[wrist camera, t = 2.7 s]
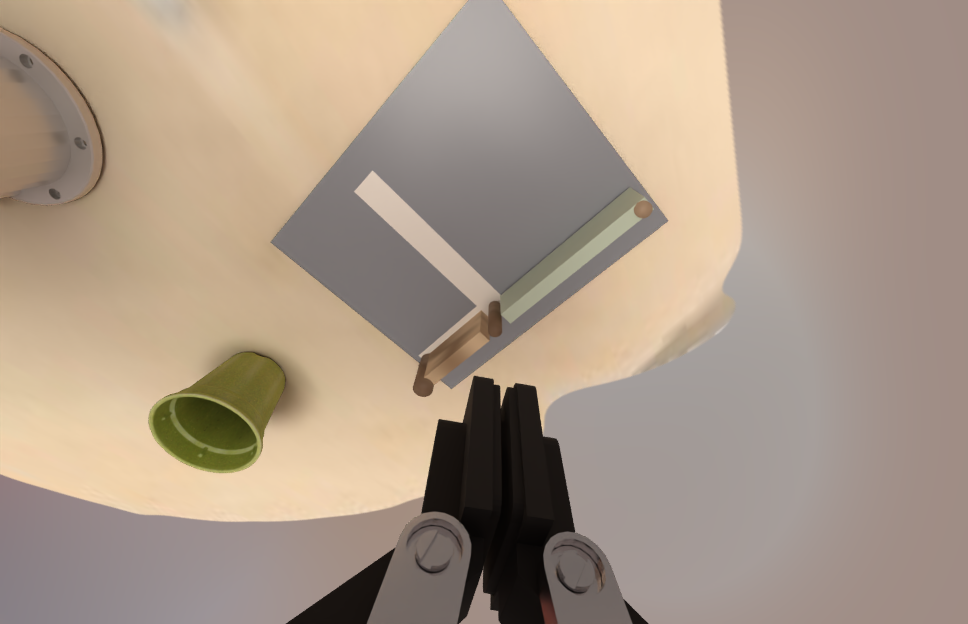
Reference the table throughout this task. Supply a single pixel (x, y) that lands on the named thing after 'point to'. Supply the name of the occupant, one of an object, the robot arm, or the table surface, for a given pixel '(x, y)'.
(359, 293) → the card
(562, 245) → the bar
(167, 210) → the table surface
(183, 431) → the plant pot
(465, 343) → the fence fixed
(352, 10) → the table surface
